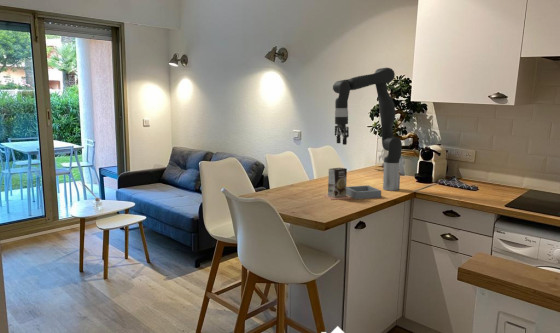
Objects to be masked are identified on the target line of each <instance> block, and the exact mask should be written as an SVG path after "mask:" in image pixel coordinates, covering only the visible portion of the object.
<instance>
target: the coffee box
mask: <svg viewBox="0 0 560 333" xmlns="http://www.w3.org/2000/svg"><path fill="white" fill-rule="evenodd" d="M347 169H348V168H345V167H333V168H328V176H327V177H328V179H327V182H328V183H327V184H328V185H327V186H328V187H327V194H328V196H331V197H334V198H336V197H342V196H346V187H347V177H348V175H347V174H348V173H347V172H348V170H347Z"/></svg>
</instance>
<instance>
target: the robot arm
mask: <svg viewBox="0 0 560 333" xmlns="http://www.w3.org/2000/svg"><path fill="white" fill-rule="evenodd" d="M395 74H396V73H395V71H394V70H393V69H392V67H383V68H382V67H381V68H377V69H376V70H375V71H374V73H370V74H364V75H358V76H355V77H351V78H347V79H343V80H341V79H340V80H338V81H336V82H334V83H333V85H332V91H334V93H336V94H338V97H336V99H335V102H334V103H335V104H334V107H335V108H334V109H335V110H334V124H335V125H334V136H335V137H336V144H341V137H342V145H343V146H344V145H347V143H348V141H347V138H349V135H350V133H349V126H347V125H348V124H349V109H348V108H349V106H348V102H349V101H348V100H349V96H350V94H351V92H350V91H356V90H360V89H364V88H366V87H369V86H374V85H375V89H376V93H377V100H378V109H379V117H380V124H381V125H380V127H381V146H382V148H383V149H384V151H387V156H385V157H384V159H383V176H382V180H383V181H382V182H383V183H382V184H383V185H382V190H385V191H393V192H394V191H399V190H400V187H401V186H400V185H401V174H399V173H400V159H401V157H402V150H403V149H402V148H403V147H402V146H403V145H402V140H401V138H399V137H398V136H394V133H393V125H394V122H395V119H396V107H395V102H394V101H393V98H392V96H391V95H390V93H389V91H388V87H387V84H389V83H391V82H393V81H394V79H395Z"/></svg>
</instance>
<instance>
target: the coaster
mask: <svg viewBox="0 0 560 333" xmlns="http://www.w3.org/2000/svg"><path fill="white" fill-rule="evenodd" d="M322 196H324V197H326V198H327V199H329V200H330V201H332V200H334V201H335V200H336V201H337V200H346V199H347V200H348V199H350V200H351V198H352V197H350V196H348V195H346V196H342V197H336V198H334V197H331V196H328V193H323V195H322Z"/></svg>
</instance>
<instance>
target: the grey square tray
mask: <svg viewBox="0 0 560 333" xmlns="http://www.w3.org/2000/svg"><path fill="white" fill-rule="evenodd" d="M346 195H347V196H349V197H351V198H353V199H354V200H361V199H363V200H364V199H378V198H382V190H381V189H379V188H376V187H374V186H371V185H354V186H346Z"/></svg>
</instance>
